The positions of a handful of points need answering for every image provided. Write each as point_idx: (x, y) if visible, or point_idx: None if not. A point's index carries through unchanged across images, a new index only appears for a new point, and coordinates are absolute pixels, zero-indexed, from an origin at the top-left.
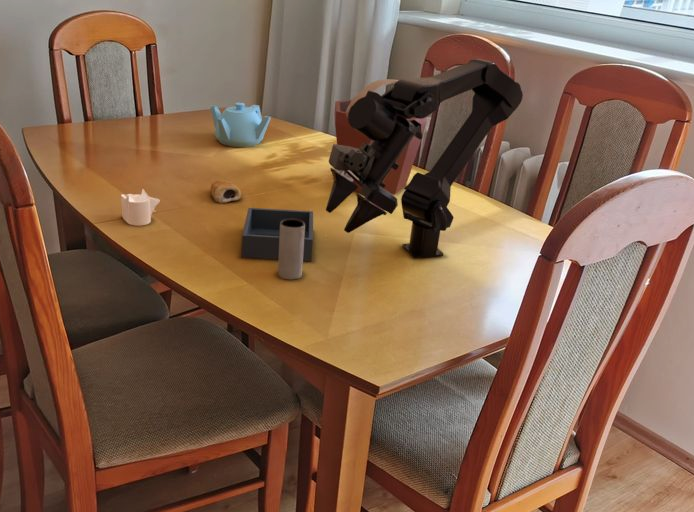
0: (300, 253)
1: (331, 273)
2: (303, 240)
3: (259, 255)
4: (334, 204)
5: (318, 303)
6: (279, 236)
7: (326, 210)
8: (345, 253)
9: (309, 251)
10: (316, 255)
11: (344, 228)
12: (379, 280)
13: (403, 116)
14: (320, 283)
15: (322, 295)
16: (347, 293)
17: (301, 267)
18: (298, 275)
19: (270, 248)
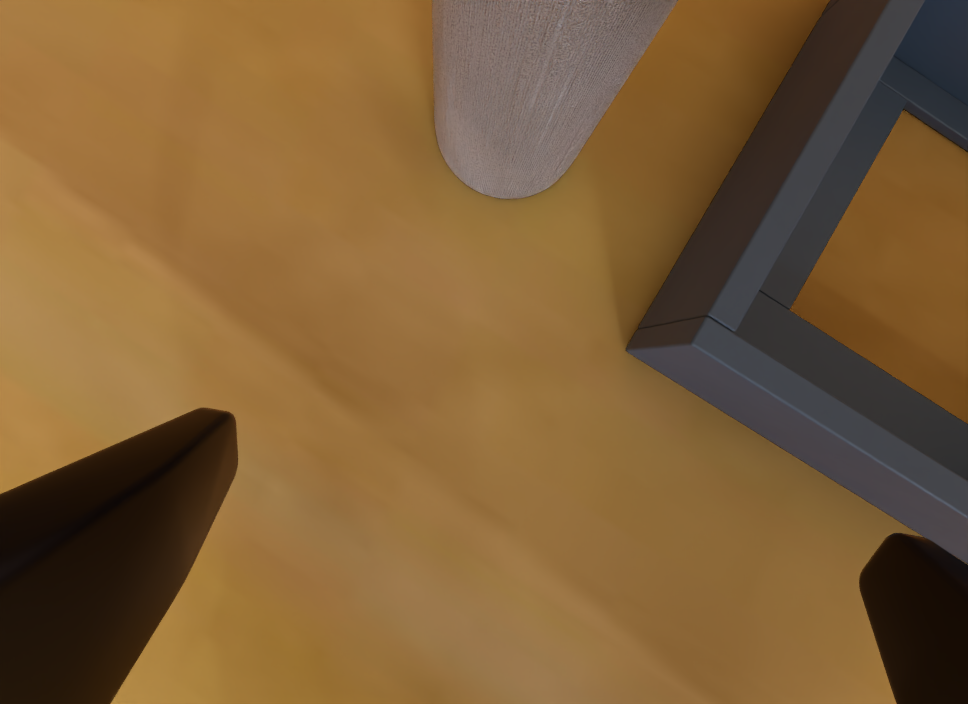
0: (436, 56)
1: (426, 374)
2: (460, 25)
3: (793, 73)
4: (952, 699)
5: (95, 75)
6: (843, 125)
7: (894, 533)
8: (652, 623)
9: (659, 332)
10: (695, 431)
11: (221, 418)
12: (209, 603)
13: None
14: (329, 234)
15: (179, 155)
16: (136, 308)
17: (448, 140)
18: (436, 133)
19: (793, 103)
